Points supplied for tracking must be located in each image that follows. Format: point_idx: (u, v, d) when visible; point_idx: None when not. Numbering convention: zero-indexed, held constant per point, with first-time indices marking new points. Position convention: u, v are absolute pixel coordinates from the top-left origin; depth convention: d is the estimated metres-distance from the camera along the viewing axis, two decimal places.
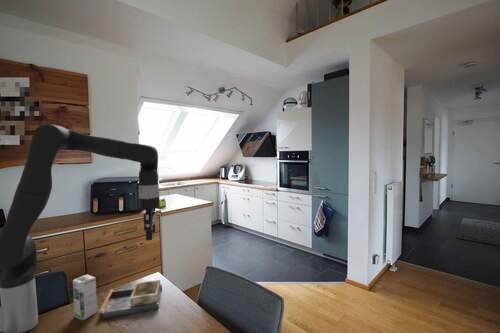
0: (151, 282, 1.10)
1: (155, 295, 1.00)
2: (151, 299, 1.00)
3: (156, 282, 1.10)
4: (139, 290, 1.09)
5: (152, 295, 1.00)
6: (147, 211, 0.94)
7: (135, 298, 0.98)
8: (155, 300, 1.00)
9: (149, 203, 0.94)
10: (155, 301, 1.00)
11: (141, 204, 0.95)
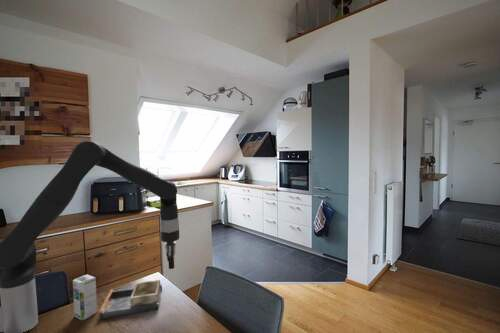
0: (151, 282, 1.10)
1: (155, 295, 1.00)
2: (151, 299, 1.00)
3: (156, 282, 1.10)
4: (139, 290, 1.09)
5: (152, 295, 1.00)
6: (169, 244, 1.02)
7: (135, 298, 0.98)
8: (155, 300, 1.00)
9: (170, 236, 1.02)
10: (155, 301, 1.00)
11: (163, 237, 1.02)
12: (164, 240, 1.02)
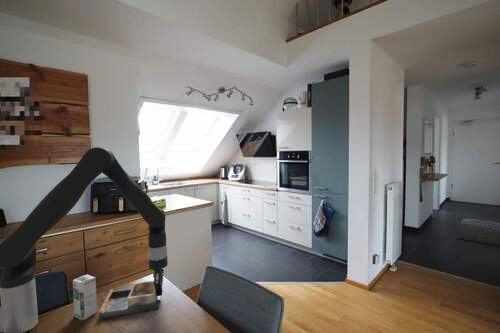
0: (149, 282, 1.09)
1: (153, 295, 1.00)
2: (148, 299, 0.99)
3: None
4: (137, 290, 1.08)
5: (149, 295, 0.99)
6: (156, 271, 1.01)
7: (132, 298, 0.98)
8: (153, 300, 1.00)
9: (158, 264, 1.01)
10: (153, 301, 1.00)
11: (150, 265, 1.02)
12: (152, 268, 1.01)
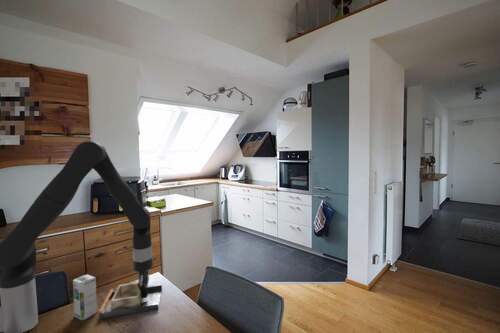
0: (134, 284, 1.08)
1: (137, 298, 0.98)
2: (133, 302, 0.98)
3: None
4: (122, 292, 1.07)
5: (133, 297, 0.98)
6: (140, 273, 1.00)
7: (116, 301, 0.96)
8: (137, 303, 0.98)
9: (142, 266, 1.00)
10: (137, 304, 0.98)
11: (135, 266, 1.00)
12: (136, 270, 1.00)
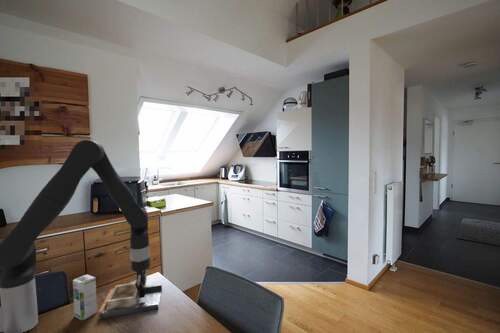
0: (131, 285, 1.08)
1: (133, 298, 0.98)
2: (129, 302, 0.98)
3: None
4: (119, 293, 1.07)
5: (130, 298, 0.98)
6: (138, 273, 1.00)
7: (112, 301, 0.96)
8: (133, 303, 0.98)
9: (139, 266, 1.00)
10: (133, 304, 0.98)
11: (132, 266, 1.00)
12: (133, 269, 1.00)
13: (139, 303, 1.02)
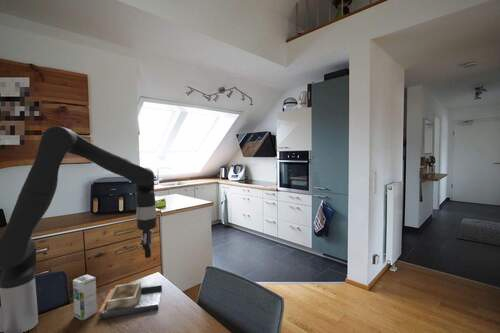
0: (131, 285, 1.08)
1: (133, 298, 0.98)
2: (129, 302, 0.98)
3: (136, 285, 1.08)
4: (119, 293, 1.07)
5: (130, 298, 0.98)
6: (144, 231, 0.99)
7: (112, 301, 0.96)
8: (133, 303, 0.98)
9: (146, 224, 0.99)
10: (133, 304, 0.98)
11: (139, 225, 0.99)
12: (140, 228, 0.99)
13: (139, 303, 1.02)
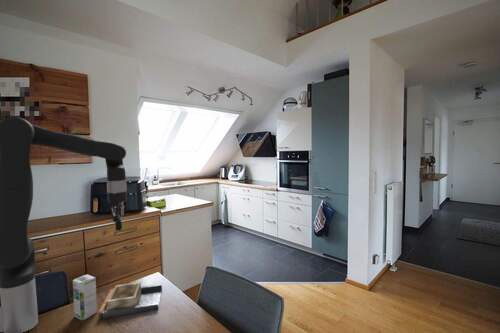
0: (131, 285, 1.08)
1: (133, 298, 0.98)
2: (129, 302, 0.98)
3: (136, 285, 1.08)
4: (119, 293, 1.07)
5: (130, 298, 0.98)
6: (114, 204, 1.04)
7: (112, 301, 0.96)
8: (133, 303, 0.98)
9: (115, 197, 1.04)
10: (133, 304, 0.98)
11: (109, 198, 1.04)
12: (110, 201, 1.04)
13: (139, 303, 1.02)
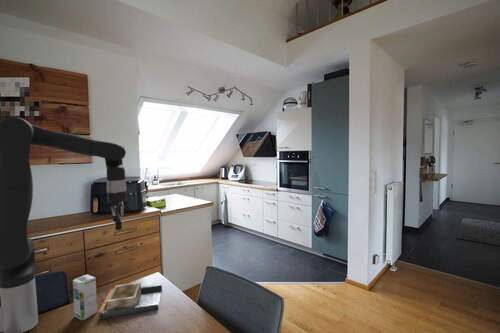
0: (131, 285, 1.08)
1: (133, 298, 0.98)
2: (129, 302, 0.98)
3: (136, 285, 1.08)
4: (119, 293, 1.07)
5: (130, 298, 0.98)
6: (114, 204, 1.04)
7: (112, 301, 0.96)
8: (133, 303, 0.98)
9: (115, 197, 1.04)
10: (133, 304, 0.98)
11: (108, 197, 1.04)
12: (109, 200, 1.04)
13: (139, 303, 1.02)
